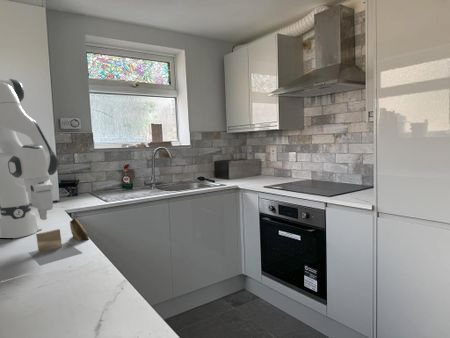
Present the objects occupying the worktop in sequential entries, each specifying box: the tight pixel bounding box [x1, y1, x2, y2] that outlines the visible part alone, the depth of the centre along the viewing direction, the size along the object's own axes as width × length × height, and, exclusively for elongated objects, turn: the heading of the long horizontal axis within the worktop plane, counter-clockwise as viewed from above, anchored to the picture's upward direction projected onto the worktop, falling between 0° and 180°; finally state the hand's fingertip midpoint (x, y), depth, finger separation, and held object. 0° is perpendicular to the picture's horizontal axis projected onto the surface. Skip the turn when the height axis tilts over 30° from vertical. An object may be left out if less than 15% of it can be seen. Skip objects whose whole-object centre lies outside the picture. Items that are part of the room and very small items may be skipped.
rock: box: [69, 217, 90, 242], centre depth 137 cm, size 11×9×10 cm
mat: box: [28, 242, 83, 266], centre depth 120 cm, size 19×14×1 cm
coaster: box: [35, 228, 63, 253], centre depth 124 cm, size 2×8×7 cm, turn 132°
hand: (43, 219), depth 127 cm, fingers closed
